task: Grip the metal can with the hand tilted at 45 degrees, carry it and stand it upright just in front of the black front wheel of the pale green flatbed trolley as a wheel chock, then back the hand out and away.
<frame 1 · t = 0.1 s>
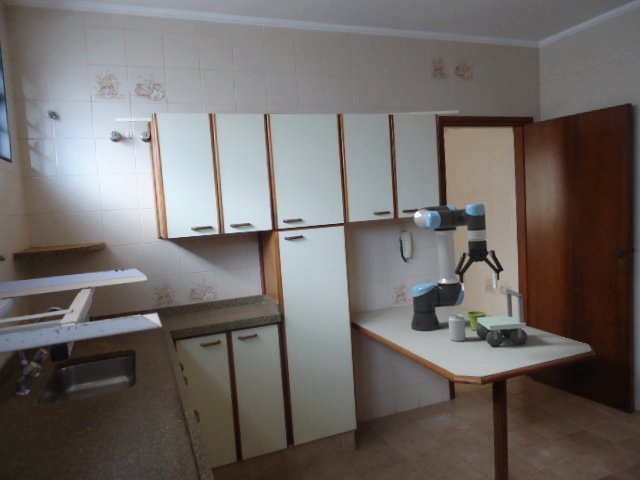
hand: (479, 289, 197), 28 cm above the table, tool pointing down, fingers open, 13 cm apart
trolley: (501, 341, 213), on the table
can: (457, 340, 220), on the table
plant pot: (477, 330, 235), on the table
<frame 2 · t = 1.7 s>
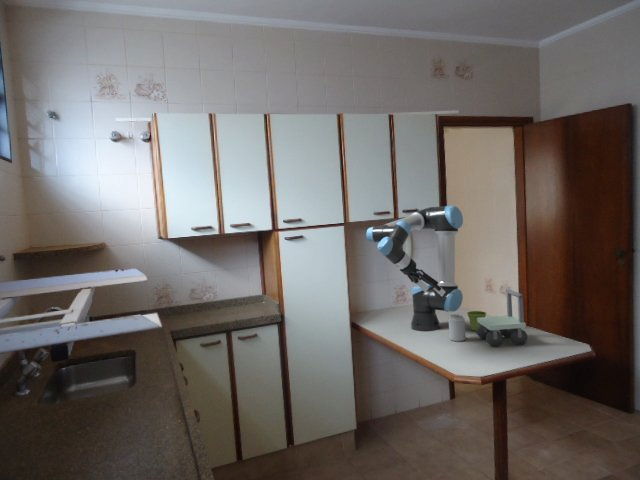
hand: (435, 292, 215), 25 cm above the table, tool tilted 45°, fingers open, 13 cm apart
nothing on the table moved.
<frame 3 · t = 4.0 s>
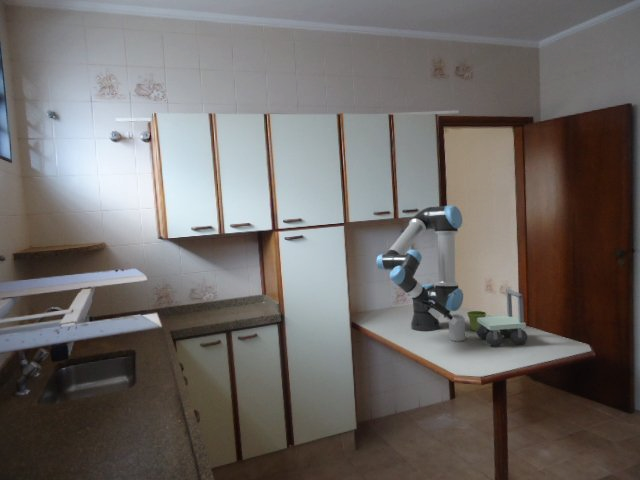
hand: (446, 319, 217), 11 cm above the table, tool tilted 45°, fingers open, 13 cm apart
nothing on the table moved.
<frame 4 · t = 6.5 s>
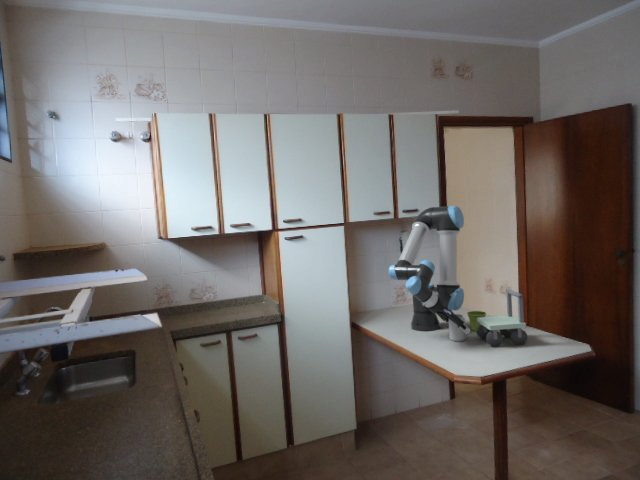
hand: (463, 330, 221), 4 cm above the table, tool tilted 45°, fingers closed on can, 7 cm apart
can: (457, 340, 220), on the table, touching gripper
everything else where it was.
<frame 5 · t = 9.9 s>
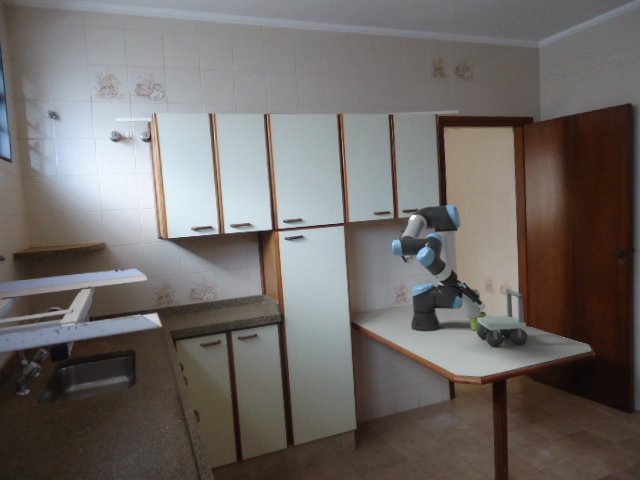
hand: (478, 306, 206), 18 cm above the table, tool tilted 45°, fingers closed on can, 7 cm apart
can: (472, 316, 206), point 14 cm above the table, touching gripper
everything else where it was.
when the fingers open (6 cm above the table, at t = 13.7 s): can drops 1 cm, on the table.
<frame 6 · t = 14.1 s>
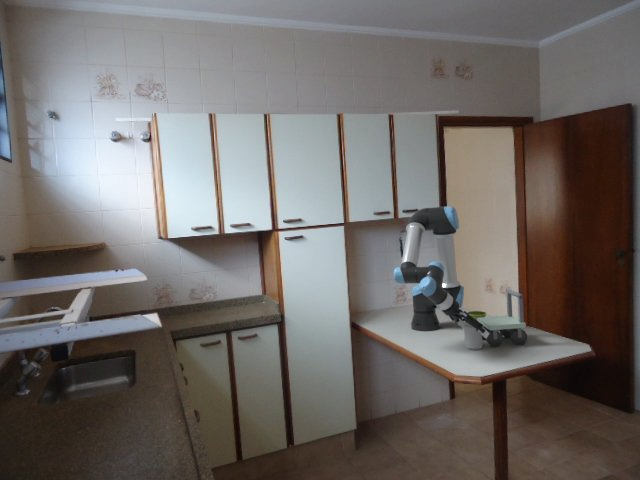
hand: (477, 332, 207), 7 cm above the table, tool tilted 45°, fingers open, 13 cm apart
can: (473, 348, 206), on the table
everything else where it was.
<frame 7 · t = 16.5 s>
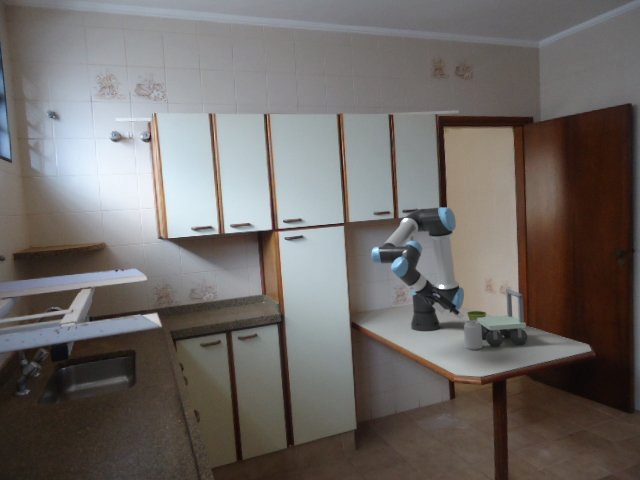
hand: (452, 314, 202), 17 cm above the table, tool tilted 45°, fingers open, 13 cm apart
nothing on the table moved.
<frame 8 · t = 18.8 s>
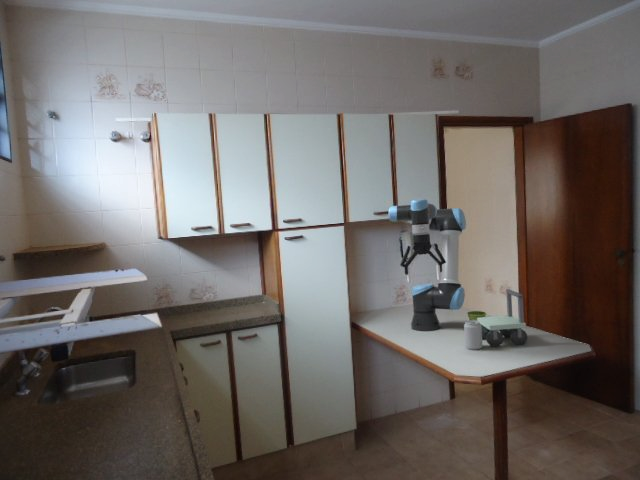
hand: (424, 280, 207), 32 cm above the table, tool pointing down, fingers open, 13 cm apart
nothing on the table moved.
at the end: can inside the target area (0.1 cm from its centre), on the table; can tilted 0°; the gripper is holding nothing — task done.
